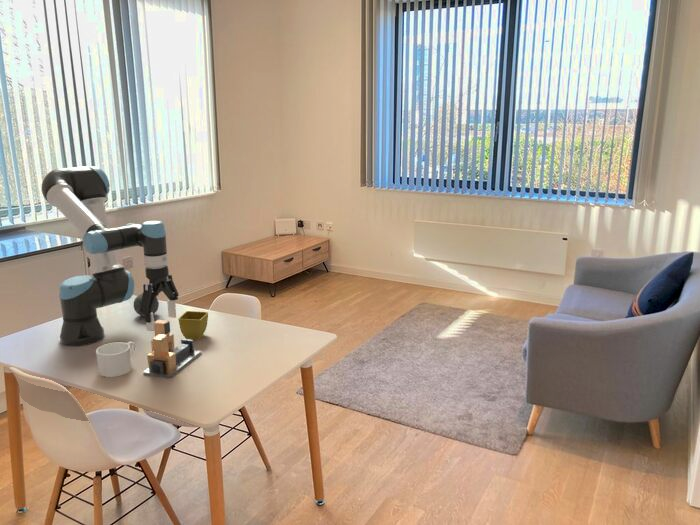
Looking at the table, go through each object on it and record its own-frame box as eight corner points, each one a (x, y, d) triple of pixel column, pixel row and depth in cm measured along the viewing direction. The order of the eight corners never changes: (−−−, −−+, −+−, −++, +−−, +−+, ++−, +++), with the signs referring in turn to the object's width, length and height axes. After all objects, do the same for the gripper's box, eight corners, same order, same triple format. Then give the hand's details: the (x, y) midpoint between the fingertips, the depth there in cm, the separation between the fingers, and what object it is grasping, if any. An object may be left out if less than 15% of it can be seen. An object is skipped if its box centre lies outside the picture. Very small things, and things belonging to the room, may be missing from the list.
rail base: (143, 374, 186) (140, 339, 183) (176, 350, 205) (174, 318, 202) (170, 378, 184) (167, 342, 181) (201, 353, 203) (199, 321, 199)
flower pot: (209, 333, 221) (208, 311, 219) (202, 342, 213) (200, 319, 210) (188, 332, 222) (186, 310, 219) (179, 341, 213) (177, 318, 211)
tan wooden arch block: (164, 346, 208) (162, 317, 205) (175, 348, 207) (173, 318, 204) (152, 355, 201) (149, 324, 198) (163, 356, 200) (161, 326, 197)
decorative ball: (164, 315, 239) (162, 293, 236) (141, 321, 232) (139, 298, 229) (152, 310, 246) (150, 288, 243) (130, 315, 239) (128, 293, 236)
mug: (111, 380, 182) (109, 357, 180) (91, 372, 187) (88, 350, 185) (146, 365, 193) (144, 343, 191) (126, 358, 198) (123, 336, 196)
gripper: (144, 276, 183) (150, 337, 188) (185, 258, 206) (189, 313, 212) (124, 274, 185) (131, 335, 190) (167, 256, 208) (171, 311, 214)
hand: (161, 323), depth 201 cm, fingers open, 13 cm apart
